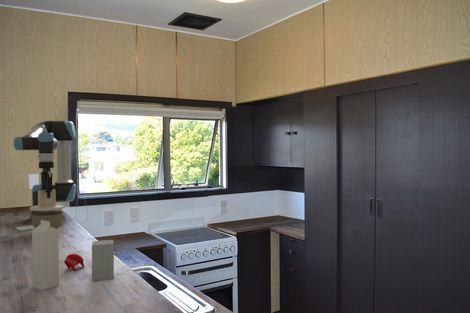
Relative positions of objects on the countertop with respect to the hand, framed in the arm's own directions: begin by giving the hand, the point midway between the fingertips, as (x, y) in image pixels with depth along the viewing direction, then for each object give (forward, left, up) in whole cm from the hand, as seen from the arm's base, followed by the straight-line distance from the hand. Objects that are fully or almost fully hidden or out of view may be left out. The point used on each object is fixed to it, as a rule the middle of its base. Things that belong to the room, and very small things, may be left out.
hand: (46, 203), depth 215 cm
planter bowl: (0, 0, -16) cm, 16 cm away
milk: (+90, -26, -16) cm, 95 cm away
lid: (0, 0, -3) cm, 3 cm away
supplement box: (+94, -8, -16) cm, 96 cm away
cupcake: (-18, +11, -16) cm, 26 cm away
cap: (+77, -12, -16) cm, 80 cm away
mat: (-19, -6, -16) cm, 25 cm away
